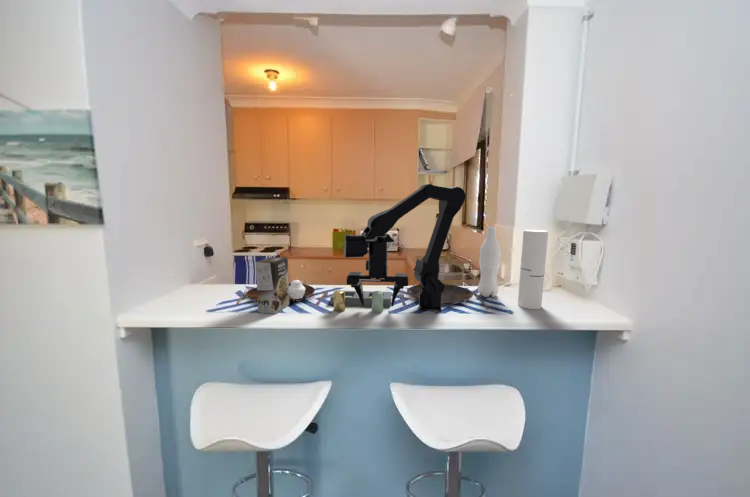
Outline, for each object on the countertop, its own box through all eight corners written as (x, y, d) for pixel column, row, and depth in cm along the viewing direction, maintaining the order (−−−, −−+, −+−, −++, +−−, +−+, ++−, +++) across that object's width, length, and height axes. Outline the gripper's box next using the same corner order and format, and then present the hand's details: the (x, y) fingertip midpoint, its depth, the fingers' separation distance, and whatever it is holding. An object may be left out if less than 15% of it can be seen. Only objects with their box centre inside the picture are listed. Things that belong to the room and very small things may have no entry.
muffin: (292, 295, 116) (291, 277, 114) (308, 297, 114) (307, 278, 113) (284, 301, 110) (283, 281, 108) (301, 302, 108) (300, 282, 107)
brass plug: (345, 308, 103) (345, 290, 102) (343, 312, 99) (343, 293, 98) (335, 308, 103) (334, 290, 102) (332, 312, 100) (332, 293, 99)
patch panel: (391, 298, 113) (391, 291, 112) (390, 306, 105) (390, 298, 104) (335, 297, 114) (335, 289, 114) (330, 304, 106) (330, 296, 106)
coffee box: (276, 314, 97) (274, 262, 95) (257, 312, 99) (254, 261, 96) (290, 304, 106) (288, 256, 104) (272, 303, 107) (270, 256, 105)
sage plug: (383, 309, 102) (383, 291, 101) (382, 313, 99) (382, 294, 98) (372, 308, 103) (372, 290, 102) (371, 312, 99) (371, 294, 98)
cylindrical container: (522, 300, 112) (528, 229, 108) (544, 305, 107) (551, 230, 103) (514, 305, 107) (519, 230, 103) (536, 310, 102) (543, 232, 98)
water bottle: (499, 294, 118) (504, 227, 114) (495, 299, 112) (500, 228, 108) (480, 291, 122) (484, 226, 118) (474, 296, 116) (478, 227, 112)
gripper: (407, 252, 105) (406, 298, 108) (351, 251, 107) (352, 296, 109) (408, 259, 94) (407, 309, 97) (346, 257, 96) (346, 307, 98)
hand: (377, 305), depth 100 cm, fingers open, 9 cm apart
